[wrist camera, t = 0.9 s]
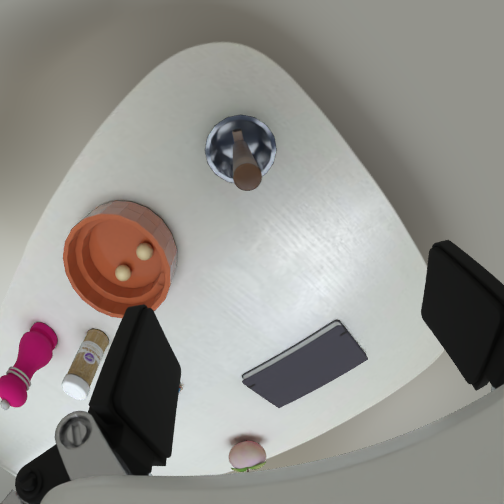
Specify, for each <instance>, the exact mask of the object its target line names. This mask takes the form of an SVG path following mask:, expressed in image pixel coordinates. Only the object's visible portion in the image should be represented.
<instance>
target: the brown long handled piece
mask: <svg viewBox="0 0 504 504" xmlns="http://www.w3.org/2000/svg"><path fill="white" fill-rule="evenodd" d="M232 133H233V138H234V144H233V180H234V183H235V185H236V186H237V187H238V188H239V189H241V190H245V191H250V190H253V189H255V188H257V187H258V186H259V184H260V183H261V180H262V174H261V171H260V169H259V167H258V165H257V163H256V161H255V159H254V157H253V155H252V153H251V151H250V149H249V147H248V145H247V143H246V142H245V141H244V140H243V135H242V130H241V129H235V130H232Z"/></svg>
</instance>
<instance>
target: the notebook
mask: <svg viewBox="0 0 504 504" xmlns="http://www.w3.org/2000/svg"><path fill="white" fill-rule="evenodd" d="M366 360H368V358H367V356H366V354H365V352H364V351H363V350H362V349H361V347H360V346H359V345H358V343H357V342H356V341H355V340H354V338H353V337H352V336H351V334H350V333H349V332H348V331H347V329H346V328H345V327H344V325H343V324H342V323H341V322H340V321H339V320H335V321H333V322H331V323H330V324H328V325H327V326H325V327H324V328H322V329H320V330H319V331H317V332H316V333H314V334H312V335H311V336H309V337H308V338H306V339H304V340H303V341H301V342H299V343H298V344H296V345H294V346H293V347H291V348H289V349H288V350H286V351H284V352H283V353H281V354H279V355H277V356H276V357H274V358H272V359H270V360H269V361H267V362H265V363H263V364H261V365H260V366H258V367H256V368H254V369H252V370H251V371H249V372H247V373H245V374H243V375H242V378H243V379H244V380H243V381H242V382H243V384H244V385H246V386H247V387H248V388H250V389H252V390H253V391H254V392H256V393H257V394H259V395H260V396H262V397H263V398H265V399H266V400H268V401H269V402H270V403H272V404H273V405H275V406H276V407H278V408H280V407H282V406H284V405H286V404H289V403H291V402H293V401H295V400H297V399H299V398H301V397H303V396H305V395H306V394H308V393H310V392H312V391H314V390H316V389H318V388H320V387H322V386H323V385H325V384H327V383H329V382H331V381H332V380H334V379H336V378H338V377H339V376H341V375H343V374H345V373H346V372H348V371H350V370H351V369H353V368H355V367H356V366H358V365H360V364H361V363H363V362H364V361H366Z"/></svg>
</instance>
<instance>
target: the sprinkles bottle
mask: <svg viewBox="0 0 504 504" xmlns="http://www.w3.org/2000/svg"><path fill="white" fill-rule="evenodd" d="M108 343H109V341H108V338H107V336H106V335H105V334H104V333H103V332H101V331H99V330H97V329H91V330H89V331H88V332H87V335H86V337H85V339H84V341H83V343H82V344H81V346H80V348H79V350H78V352H77V354H76V356H75V358H74V360H73V362H72V365H71V367H70V369H69V371H68V374H66V376H65V377H64V379H63V382H62V389H63V390H64V391H65V393H66V394H68V395H69V396H70V397H72V398H74V399H77V400H85V399H86V398H87V396H88V393H89V391H90V385H91V383H92V380H93V378H94V376H95V373H96V371H97V368H98V366H99V364H100V361H101V359H102V357H103V354H104V351H105V349H106V347H107V346H108Z"/></svg>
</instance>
